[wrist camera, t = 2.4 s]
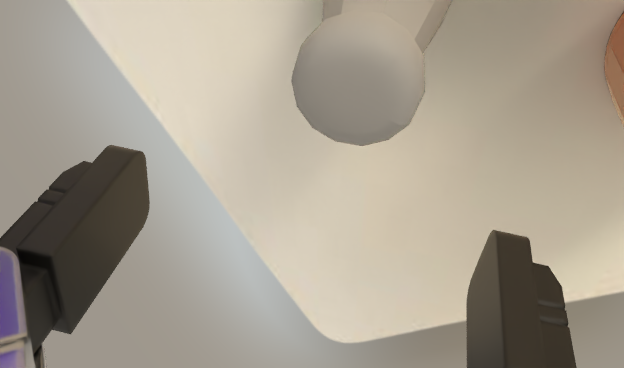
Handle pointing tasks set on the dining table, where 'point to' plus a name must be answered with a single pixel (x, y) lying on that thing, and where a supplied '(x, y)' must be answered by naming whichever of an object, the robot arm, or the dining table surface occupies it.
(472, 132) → the dining table surface
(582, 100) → the dining table surface
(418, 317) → the dining table surface
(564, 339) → the robot arm
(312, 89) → the salt shaker
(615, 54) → the cup
